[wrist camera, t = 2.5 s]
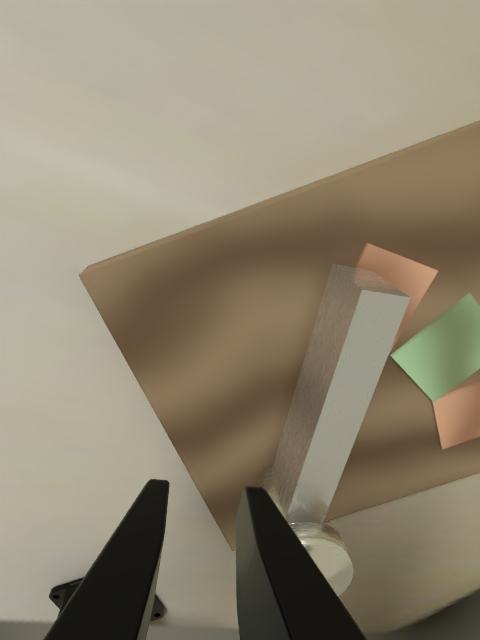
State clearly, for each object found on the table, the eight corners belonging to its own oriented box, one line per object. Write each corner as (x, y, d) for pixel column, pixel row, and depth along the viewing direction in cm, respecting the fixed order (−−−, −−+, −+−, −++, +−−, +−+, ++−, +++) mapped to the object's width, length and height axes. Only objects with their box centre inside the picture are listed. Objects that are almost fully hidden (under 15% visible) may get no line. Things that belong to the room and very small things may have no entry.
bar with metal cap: (308, 512, 25) (337, 611, 19) (236, 508, 24) (245, 609, 19) (395, 272, 18) (473, 322, 13) (301, 256, 17) (342, 301, 12)
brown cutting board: (516, 439, 26) (536, 457, 24) (230, 530, 27) (232, 553, 26) (505, 111, 17) (534, 107, 16) (87, 266, 19) (77, 276, 17)
